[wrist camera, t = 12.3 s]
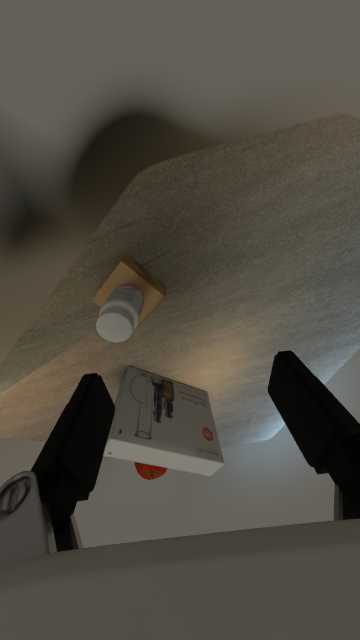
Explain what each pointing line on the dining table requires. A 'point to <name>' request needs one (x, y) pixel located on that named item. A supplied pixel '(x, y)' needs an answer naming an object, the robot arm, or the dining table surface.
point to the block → (136, 277)
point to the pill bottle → (120, 313)
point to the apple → (149, 470)
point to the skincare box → (163, 425)
